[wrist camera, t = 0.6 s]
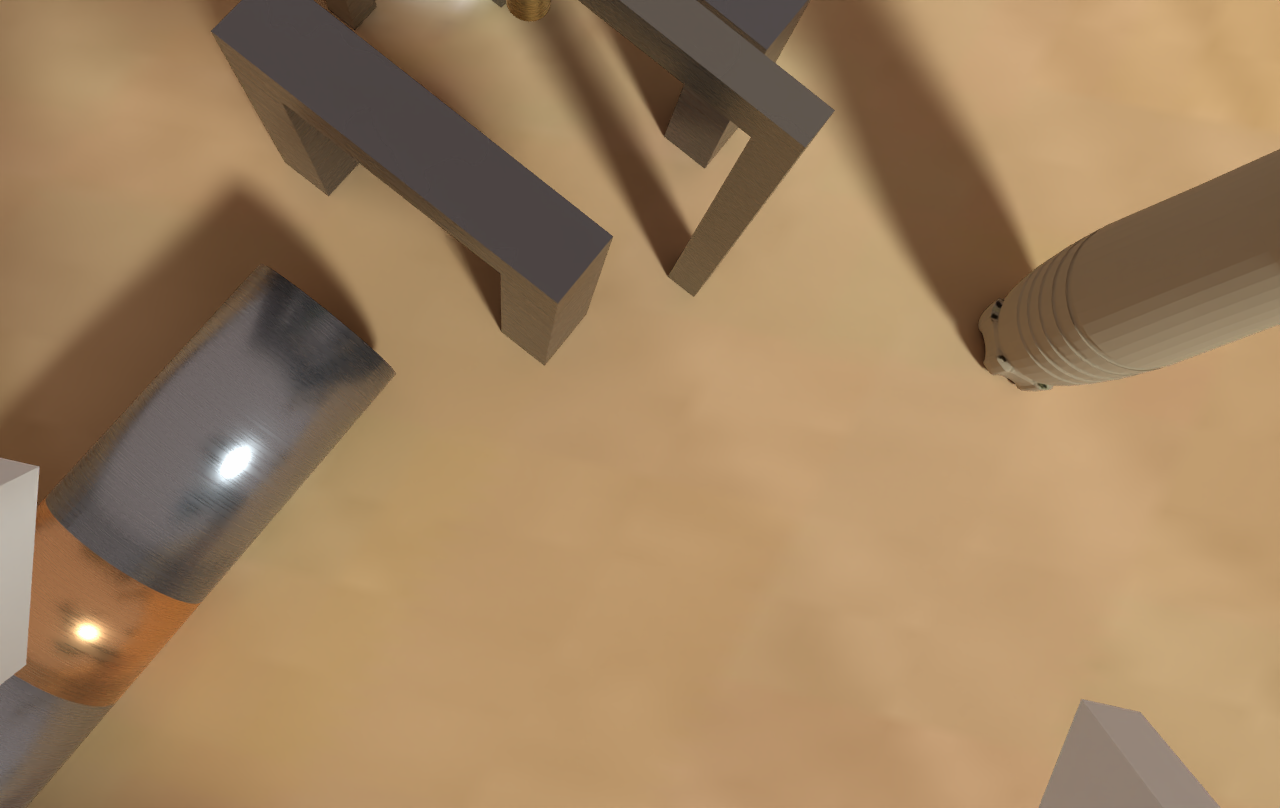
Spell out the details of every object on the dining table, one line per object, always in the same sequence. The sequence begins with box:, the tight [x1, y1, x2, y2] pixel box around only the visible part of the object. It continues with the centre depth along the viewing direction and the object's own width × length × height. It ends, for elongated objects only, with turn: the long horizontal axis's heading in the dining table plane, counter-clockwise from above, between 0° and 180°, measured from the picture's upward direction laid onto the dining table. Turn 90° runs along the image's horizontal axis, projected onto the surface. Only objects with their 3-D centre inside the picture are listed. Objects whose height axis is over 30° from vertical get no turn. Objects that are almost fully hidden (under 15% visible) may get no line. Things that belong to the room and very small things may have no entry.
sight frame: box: [326, 0, 835, 297], centre depth 24 cm, size 1×14×11 cm, turn 52°
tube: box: [0, 264, 396, 808], centre depth 23 cm, size 18×4×4 cm, turn 142°
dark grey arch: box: [211, 0, 613, 365], centre depth 25 cm, size 2×10×7 cm, turn 52°
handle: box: [978, 149, 1280, 391], centre depth 23 cm, size 5×6×15 cm
